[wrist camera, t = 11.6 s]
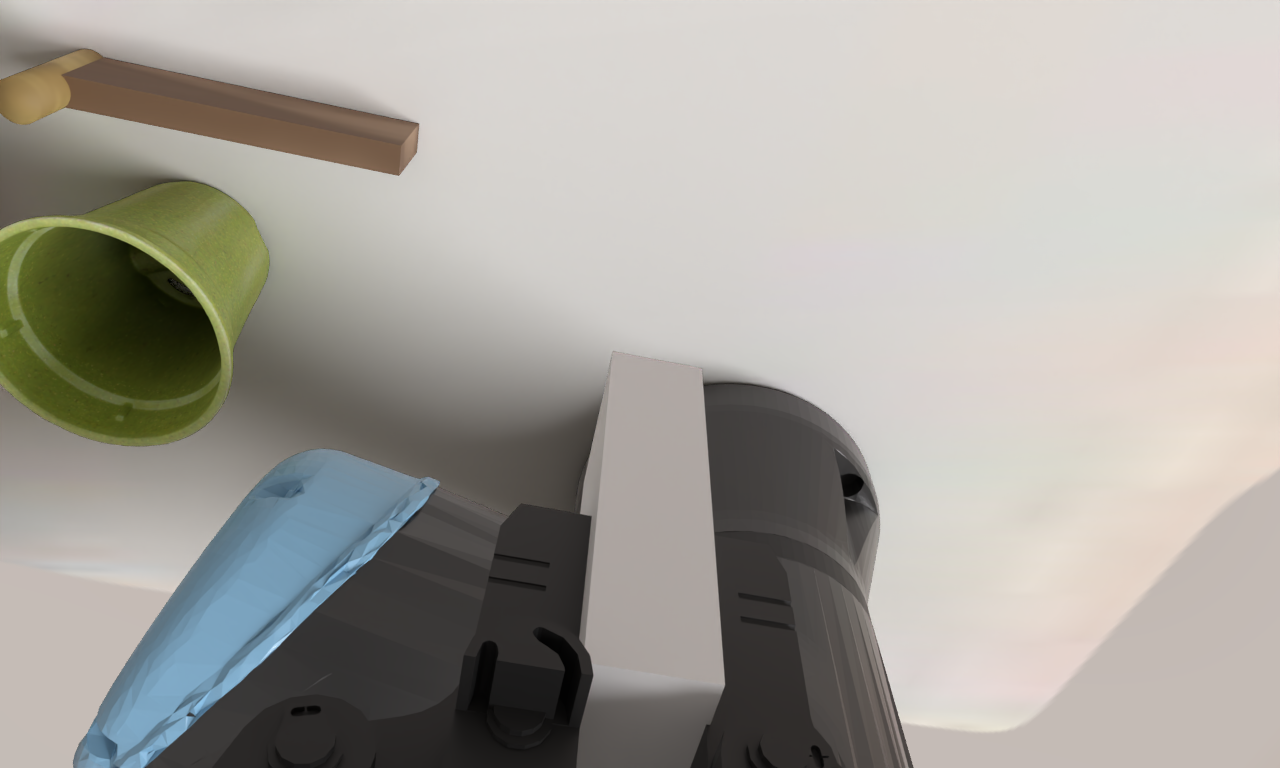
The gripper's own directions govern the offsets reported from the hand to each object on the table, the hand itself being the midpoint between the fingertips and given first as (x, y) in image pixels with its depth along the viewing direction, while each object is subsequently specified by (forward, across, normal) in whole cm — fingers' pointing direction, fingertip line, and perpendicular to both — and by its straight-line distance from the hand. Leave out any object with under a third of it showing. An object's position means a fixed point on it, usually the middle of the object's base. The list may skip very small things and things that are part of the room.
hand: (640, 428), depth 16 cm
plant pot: (+25, +18, +11) cm, 32 cm away
